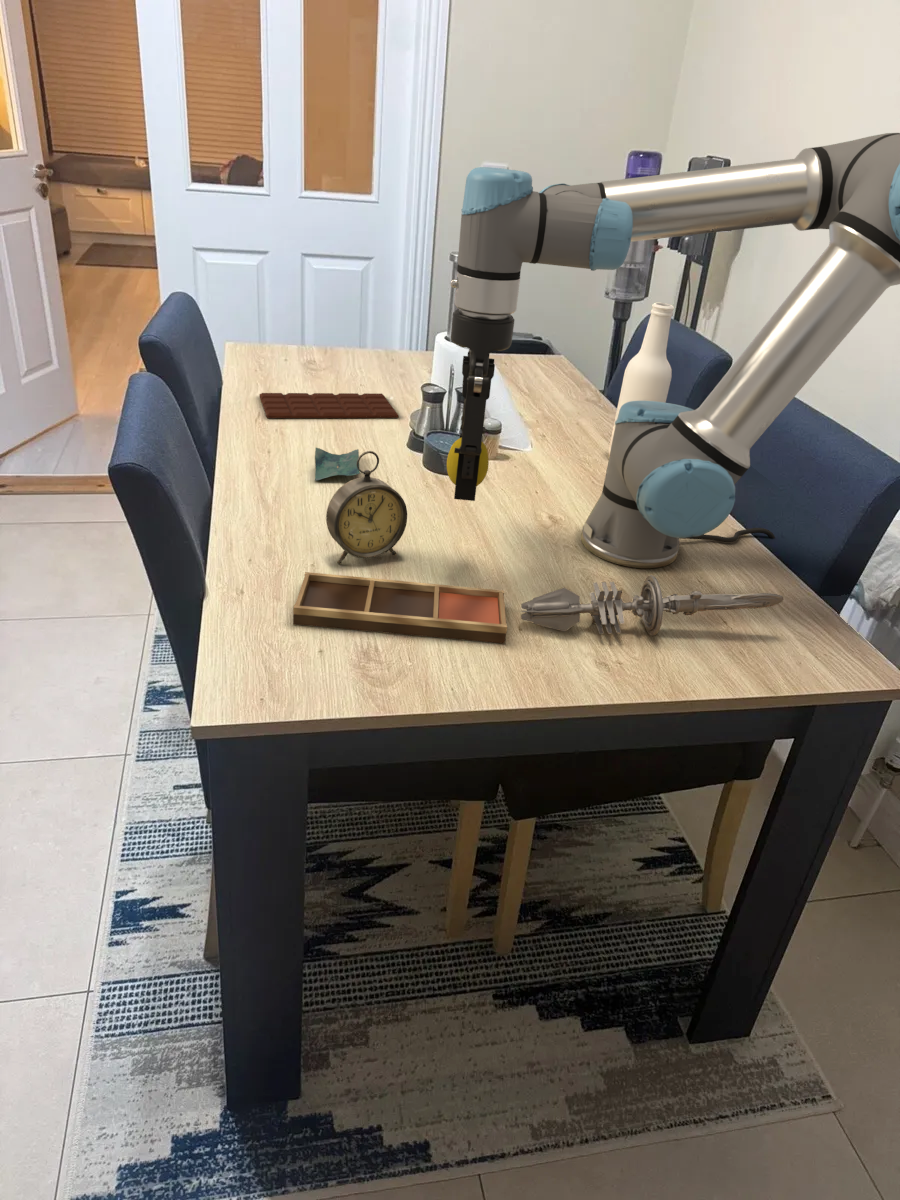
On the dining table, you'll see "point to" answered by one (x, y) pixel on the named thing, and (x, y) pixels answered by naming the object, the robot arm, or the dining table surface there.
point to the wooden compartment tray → (401, 607)
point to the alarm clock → (366, 516)
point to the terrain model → (335, 464)
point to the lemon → (453, 462)
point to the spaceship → (632, 606)
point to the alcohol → (649, 363)
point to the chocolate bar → (327, 405)
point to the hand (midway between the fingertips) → (464, 489)
